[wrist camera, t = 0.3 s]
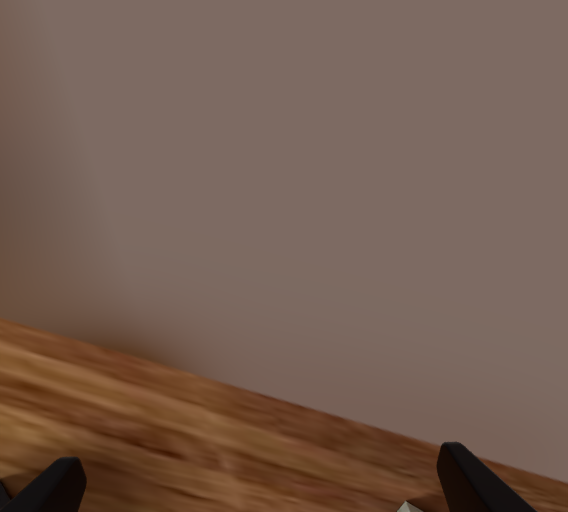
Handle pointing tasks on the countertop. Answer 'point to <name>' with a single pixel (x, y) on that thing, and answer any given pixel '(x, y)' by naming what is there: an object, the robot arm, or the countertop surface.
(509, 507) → the robot arm
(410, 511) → the bin
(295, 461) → the countertop surface
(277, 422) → the countertop surface
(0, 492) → the box
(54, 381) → the countertop surface
